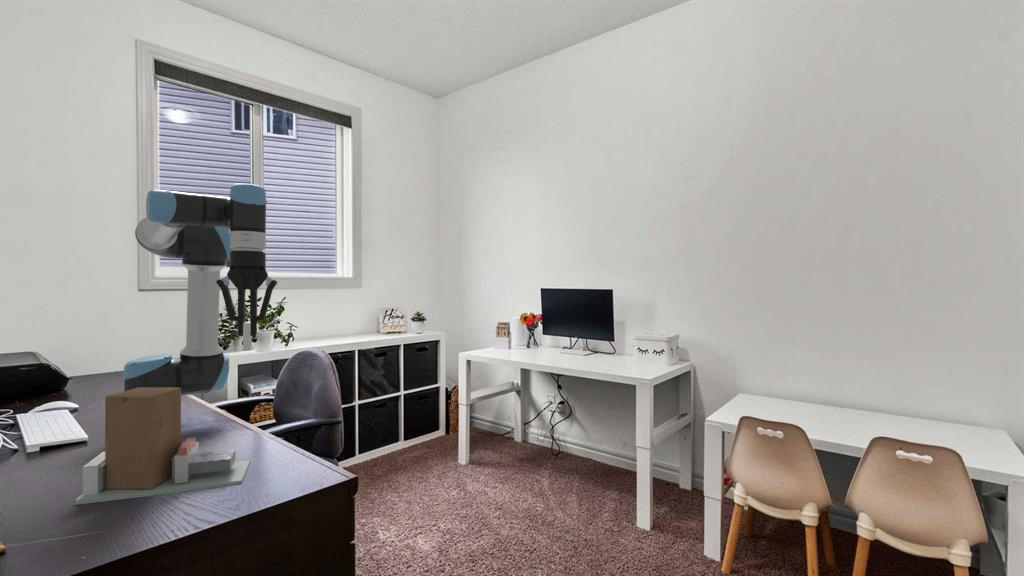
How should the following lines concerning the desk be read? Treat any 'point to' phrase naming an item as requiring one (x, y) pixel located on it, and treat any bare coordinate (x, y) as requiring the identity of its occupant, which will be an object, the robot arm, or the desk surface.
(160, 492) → the vise bed
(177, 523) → the desk surface
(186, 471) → the free jaw
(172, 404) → the wooden block
